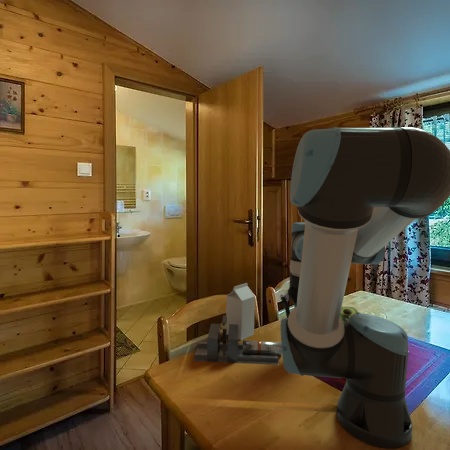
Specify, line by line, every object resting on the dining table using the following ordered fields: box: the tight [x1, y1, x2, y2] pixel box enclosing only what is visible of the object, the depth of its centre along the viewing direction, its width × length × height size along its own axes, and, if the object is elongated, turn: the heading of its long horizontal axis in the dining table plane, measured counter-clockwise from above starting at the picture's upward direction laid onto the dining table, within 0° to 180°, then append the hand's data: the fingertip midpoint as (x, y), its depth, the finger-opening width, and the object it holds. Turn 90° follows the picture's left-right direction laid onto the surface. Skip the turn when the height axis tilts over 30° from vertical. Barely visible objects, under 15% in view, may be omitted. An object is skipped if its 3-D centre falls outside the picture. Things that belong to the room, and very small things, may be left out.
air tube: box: [242, 340, 282, 356], centre depth 98 cm, size 12×4×4 cm, turn 87°
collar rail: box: [193, 314, 280, 366], centre depth 98 cm, size 12×25×11 cm, turn 87°
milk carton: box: [225, 282, 256, 341], centre depth 111 cm, size 7×7×19 cm
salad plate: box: [340, 306, 360, 322], centre depth 125 cm, size 19×18×5 cm
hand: (299, 349), depth 97 cm, fingers closed
